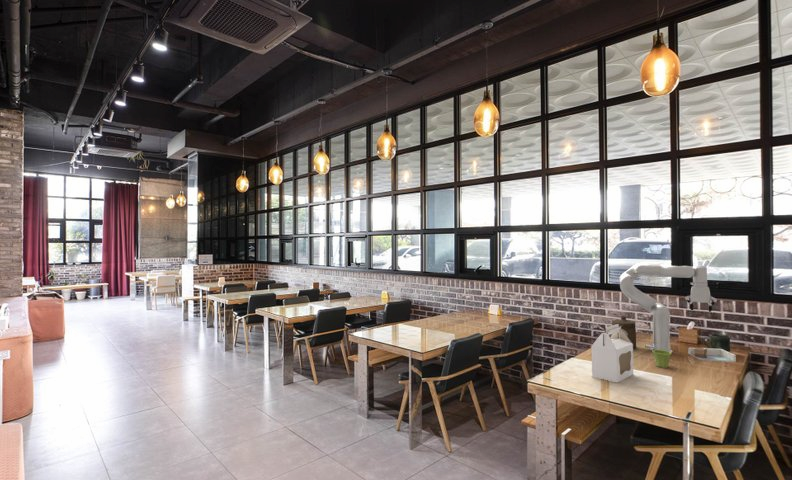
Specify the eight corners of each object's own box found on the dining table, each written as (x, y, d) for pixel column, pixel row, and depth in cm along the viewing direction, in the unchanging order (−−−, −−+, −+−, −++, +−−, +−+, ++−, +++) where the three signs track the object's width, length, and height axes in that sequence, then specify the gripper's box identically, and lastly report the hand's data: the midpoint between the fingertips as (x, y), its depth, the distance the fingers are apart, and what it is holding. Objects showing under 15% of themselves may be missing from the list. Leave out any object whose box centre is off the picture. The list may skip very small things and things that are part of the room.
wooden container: (607, 345, 294) (607, 314, 294) (623, 343, 298) (623, 313, 298) (624, 350, 280) (624, 318, 280) (641, 348, 284) (640, 317, 284)
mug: (731, 356, 261) (730, 338, 261) (702, 353, 270) (702, 335, 270) (731, 353, 269) (730, 335, 269) (703, 349, 278) (703, 332, 279)
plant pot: (674, 369, 236) (674, 354, 236) (656, 368, 238) (656, 353, 238) (667, 364, 245) (667, 350, 245) (650, 363, 247) (649, 349, 247)
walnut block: (703, 358, 255) (703, 350, 255) (694, 356, 259) (694, 348, 259) (707, 357, 258) (706, 349, 258) (697, 355, 262) (697, 347, 262)
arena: (700, 361, 251) (700, 353, 251) (688, 355, 266) (688, 347, 266) (735, 362, 247) (735, 355, 247) (721, 356, 262) (721, 348, 262)
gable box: (616, 383, 213) (615, 330, 214) (591, 377, 223) (590, 326, 224) (633, 374, 227) (632, 324, 228) (609, 369, 237) (608, 321, 238)
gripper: (682, 284, 270) (683, 310, 270) (715, 286, 257) (715, 313, 257) (686, 283, 275) (687, 308, 275) (718, 285, 262) (719, 311, 262)
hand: (701, 310), depth 266 cm, fingers open, 9 cm apart
